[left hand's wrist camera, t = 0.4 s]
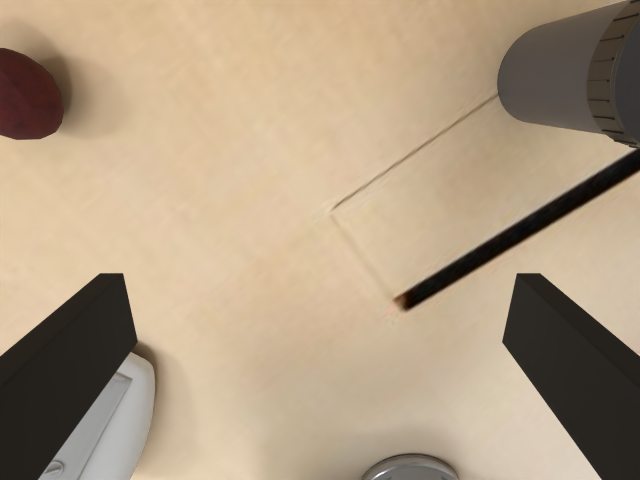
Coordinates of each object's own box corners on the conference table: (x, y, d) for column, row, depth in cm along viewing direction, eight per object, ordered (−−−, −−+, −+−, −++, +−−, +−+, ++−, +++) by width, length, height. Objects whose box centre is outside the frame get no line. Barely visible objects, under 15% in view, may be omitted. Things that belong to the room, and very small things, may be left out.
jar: (596, 100, 37) (779, 107, 22) (508, 137, 38) (626, 166, 23) (582, 6, 34) (781, -58, 19) (487, 49, 35) (606, 19, 20)
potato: (34, 34, 34) (-32, 21, 28) (97, 109, 37) (49, 113, 30) (-18, 83, 36) (-93, 81, 29) (46, 152, 38) (-11, 164, 32)
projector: (209, 450, 54) (172, 572, 40) (68, 483, 56) (-12, 608, 43) (136, 324, 46) (58, 423, 32) (-24, 370, 48) (-159, 479, 35)
